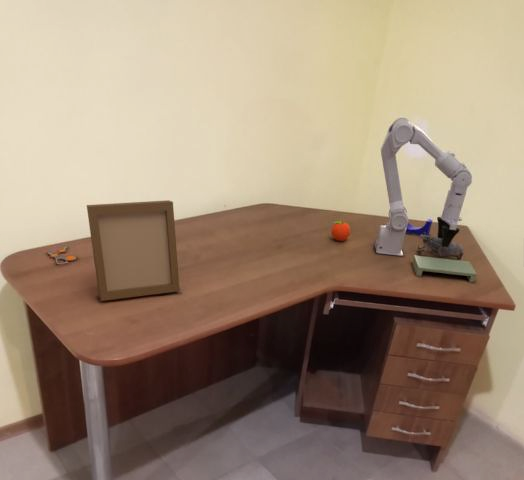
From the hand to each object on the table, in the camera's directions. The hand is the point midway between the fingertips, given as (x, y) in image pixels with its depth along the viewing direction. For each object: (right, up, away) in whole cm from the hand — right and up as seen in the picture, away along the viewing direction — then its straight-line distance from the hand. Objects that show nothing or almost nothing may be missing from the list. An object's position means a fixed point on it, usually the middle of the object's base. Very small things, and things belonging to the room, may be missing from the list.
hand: (442, 242), depth 183 cm
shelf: (-3, -12, -7) cm, 14 cm away
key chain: (-127, -9, -20) cm, 129 cm away
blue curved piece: (-4, +8, +23) cm, 25 cm away
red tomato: (-36, +3, +10) cm, 37 cm away
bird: (-1, -5, +3) cm, 6 cm away
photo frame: (-100, -20, -33) cm, 108 cm away
